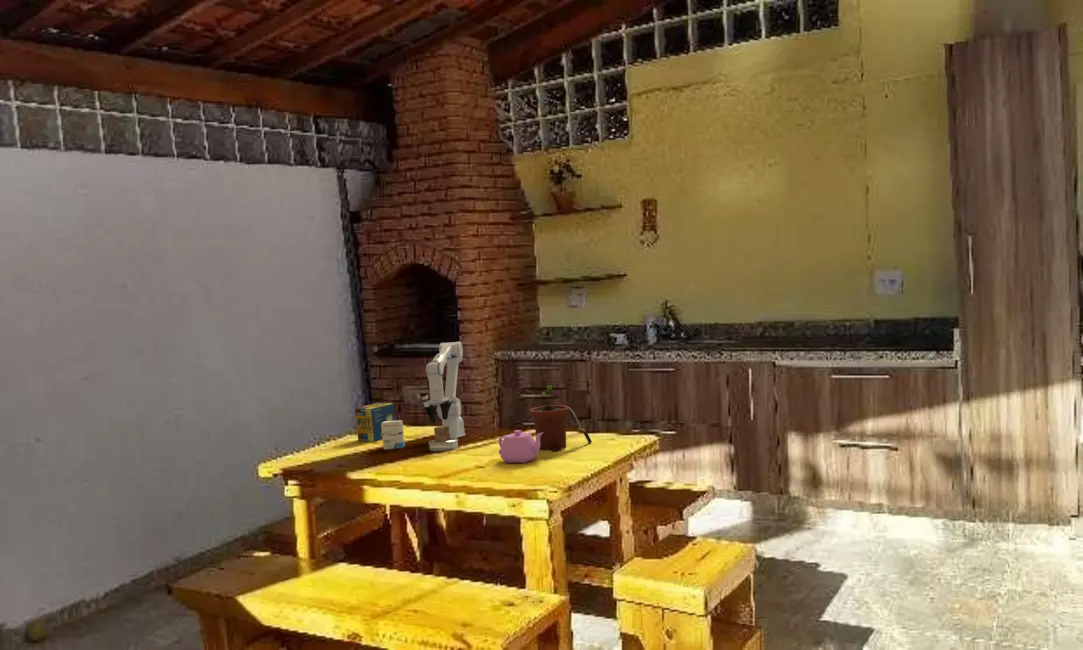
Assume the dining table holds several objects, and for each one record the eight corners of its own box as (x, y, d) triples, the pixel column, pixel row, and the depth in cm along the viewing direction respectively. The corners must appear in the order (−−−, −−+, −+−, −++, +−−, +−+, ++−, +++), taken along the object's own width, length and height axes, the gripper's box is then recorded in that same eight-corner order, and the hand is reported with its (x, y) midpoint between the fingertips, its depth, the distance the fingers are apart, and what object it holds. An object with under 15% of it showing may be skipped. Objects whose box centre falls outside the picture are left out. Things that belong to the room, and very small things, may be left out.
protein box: (357, 441, 410) (354, 408, 409) (381, 434, 423) (378, 402, 422) (373, 442, 404) (370, 408, 403) (397, 435, 417) (394, 402, 416)
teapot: (491, 464, 338) (488, 434, 337) (507, 456, 350) (505, 427, 349) (538, 465, 329) (536, 434, 329) (553, 457, 341) (550, 427, 341)
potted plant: (545, 441, 373) (540, 382, 371) (592, 442, 362) (587, 382, 361) (525, 451, 357) (520, 389, 355) (573, 452, 347) (568, 389, 345)
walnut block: (441, 439, 380) (440, 425, 380) (450, 439, 378) (448, 426, 377) (435, 441, 376) (434, 427, 376) (443, 442, 374) (442, 428, 373)
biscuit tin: (443, 445, 386) (442, 437, 386) (464, 446, 378) (463, 438, 378) (423, 451, 376) (422, 443, 376) (444, 452, 368) (443, 444, 368)
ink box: (405, 446, 389) (402, 419, 388) (402, 448, 384) (399, 421, 383) (386, 447, 390) (383, 420, 389) (383, 449, 385) (380, 422, 384)
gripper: (441, 387, 392) (443, 417, 393) (418, 392, 381) (420, 423, 382) (453, 387, 388) (455, 418, 389) (429, 392, 377) (432, 423, 377)
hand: (439, 420), depth 385 cm, fingers open, 7 cm apart
